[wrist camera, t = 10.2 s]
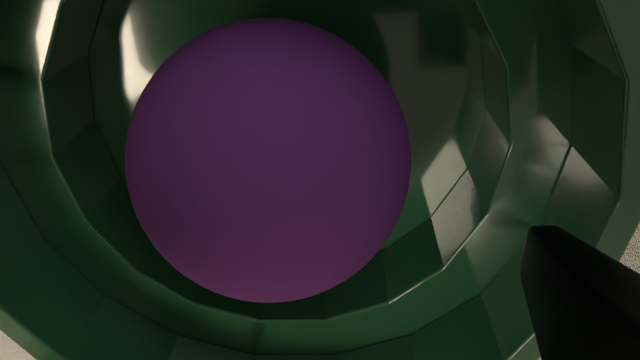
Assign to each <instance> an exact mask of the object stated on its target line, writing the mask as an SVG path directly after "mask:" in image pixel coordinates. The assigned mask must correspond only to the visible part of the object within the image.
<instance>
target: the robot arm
mask: <svg viewBox="0 0 640 360" xmlns="http://www.w3.org/2000/svg"><path fill="white" fill-rule="evenodd" d="M521 282H522V286H523V290H524V294H525V298H526V302H527V305H528V309H529V313H530V317H531V321H532V325H533V329H534V333H535V336H536V340H537V344H538V348H539V352H540V356H541V359H542V360H640V274H639V273H637V272H635V271H634V270H632V269H630V268H628V267H627V266H625V265H623V264H622V263H620V262H618V261H617V260H615V259H613V258H611V257H610V256H608V255H606V254H605V253H603V252H601V251H600V250H598V249H596V248H594V247H593V246H591V245H589V244H588V243H586V242H584V241H583V240H581V239H579V238H577V237H576V236H574V235H572V234H571V233H569V232H567V231H566V230H564V229H562V228H560V227H558V226H554V225H549V226H532V227H531V228H529V230H528V232H527V235H526V241H525V246H524V252H523V257H522V263H521Z"/></svg>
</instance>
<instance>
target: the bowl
mask: <svg viewBox="0 0 640 360" xmlns="http://www.w3.org/2000/svg"><path fill="white" fill-rule="evenodd" d="M256 18H283V19H289V20H295V21H301V22H304V23H307V24H311V25H314V26H317V27H320V28H322V29H324V30H326V31H329V32H331V33H333V34H335V35H337V36H338V37H340V38H341V39H343V40H345V41H346V42H348V43H349V44H351V45H352V46H354V47H355V48H356V49H357V50H359V51H360V52H361V53H362V54H363V55H365V56H366V57H367V58H368V59H369V60H370V61H371V62H372V63H373V64H374V66H375V67H376V68H377V69H378V70H379V71H380V72H381V74H382V75H383V77H384V78H385V79H386V81H387V82H388V84H389V85H390V87H391V89H392V91H393V93H394V95H395V97H396V99H397V101H398V103H399V105H400V107H401V109H402V112H403V115H404V118H405V121H406V124H407V129H408V135H409V140H410V148H411V172H410V180H409V187H408V192H407V196H406V200H405V203H404V207H403V209H402V212H401V214H400V216H399V218H398V221H397V223H396V225H395V227H394V229H393V231H392V233H391V234H390V236H389V237H388V239H387V241H386V242H385V243H384V245H383V246H382V247H381V248H380V250H379V251H378V252H377V253H376V254H375V255H374V257H373V258H372V259H371V260H370V261H369V262H368V263H367V264H366V265H365V266H364V267H363V268H361V269H360V270H359V271H358V272H357V273H355V274H354V275H352V276H351V277H350V278H348V279H347V280H345V281H343V282H342V283H340V284H338V285H336V286H334V287H333V288H331V289H329V290H327V291H324V292H322V293H319V294H317V295H314V296H310V297H307V298H303V299H299V300H293V301H286V302H273V303H263V302H250V301H243V300H238V299H234V298H230V297H227V296H224V295H221V294H218V293H215V292H213V291H211V290H209V289H206V288H204V287H202V286H201V285H199V284H197V283H196V282H194V281H192V280H190V279H189V278H187V277H186V276H184V275H183V274H182V273H180V272H179V271H178V270H176V269H175V268H174V267H173V266H172V265H171V264H170V263H169V262H168V261H167V260H166V259H164V257H163V256H162V255H161V254H160V253H159V252H158V250H157V249H156V248H155V247H154V245H153V244H152V242H151V241H150V239H149V238H148V236H147V235H146V233H145V231H144V230H143V228H142V226H141V224H140V222H139V220H138V218H137V216H136V214H135V211H134V208H133V205H132V202H131V199H130V195H129V191H128V186H127V181H126V175H125V147H126V139H127V132H128V128H129V125H130V121H131V118H132V114H133V111H134V108H135V106H136V104H137V102H138V99H139V97H140V95H141V93H142V91H143V89H144V88H145V86H146V85H147V83H148V82H149V80H150V79H151V77H152V76H153V75H154V73H155V72H156V70H157V69H158V68H159V67H160V66H161V65H162V64H163V63H164V62H165V60H166V59H167V58H168V57H169V56H170V55H172V54H173V53H174V52H175V51H177V50H178V49H179V48H180V47H182V46H183V45H184V44H186V43H187V42H189V41H190V40H192V39H194V38H195V37H197V36H199V35H200V34H202V33H204V32H206V31H208V30H211V29H213V28H215V27H218V26H220V25H223V24H227V23H231V22H235V21H239V20H246V19H256ZM639 222H640V0H0V330H1V331H2V332H4V333H5V334H6V335H7V336H8V337H10V338H11V339H12V340H13V341H15V342H16V343H17V344H18V345H19V346H21V347H22V348H23V349H24V350H26V351H27V352H28V353H29V354H30V355H32V356H33V357H34V358H35V359H37V360H537V359H538V358H539V357H540V352H539V348H538V344H537V340H536V336H535V333H534V329H533V325H532V321H531V317H530V313H529V309H528V305H527V302H526V298H525V294H524V290H523V286H522V282H521V263H522V257H523V252H524V246H525V241H526V235H527V232H528V230H529V228H531V227H532V226H549V225H554V226H558V227H560V228H562V229H564V230H566V231H567V232H569V233H571V234H572V235H574V236H576V237H577V238H579V239H581V240H583V241H584V242H586V243H588V244H589V245H591V246H593V247H594V248H596V249H598V250H600V251H601V252H603V253H605V254H606V255H608V256H610V257H611V258H613V259H615V260H617V261H618V262H619V261H620V259H621V257H622V255H623V253H624V251H625V249H626V247H627V245H628V244H629V242H630V240H631V238H632V236H633V234H634V232H635V230H636V228H637V226H638V224H639Z"/></svg>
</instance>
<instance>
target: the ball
mask: <svg viewBox="0 0 640 360" xmlns="http://www.w3.org/2000/svg"><path fill="white" fill-rule="evenodd" d="M410 172H411V148H410V140H409V135H408V129H407V124H406V121H405V118H404V115H403V112H402V109H401V107H400V105H399V103H398V101H397V99H396V97H395V95H394V93H393V91H392V89H391V87H390V85H389V84H388V82H387V81H386V79H385V78H384V77H383V75H382V74H381V72H380V71H379V70H378V69H377V68H376V67H375V66H374V64H373V63H372V62H371V61H370V60H369V59H368V58H367V57H366V56H365V55H363V54H362V53H361V52H360V51H359V50H357V49H356V48H355V47H354V46H352V45H351V44H349V43H348V42H346V41H345V40H343V39H341V38H340V37H338V36H337V35H335V34H333V33H331V32H329V31H326V30H324V29H322V28H320V27H317V26H314V25H311V24H307V23H304V22H301V21H295V20H289V19H283V18H256V19H246V20H239V21H235V22H231V23H227V24H223V25H220V26H218V27H215V28H213V29H211V30H208V31H206V32H204V33H202V34H200V35H199V36H197V37H195V38H194V39H192V40H190V41H189V42H187V43H186V44H184V45H183V46H182V47H180V48H179V49H178V50H177V51H175V52H174V53H173V54H172V55H170V56H169V57H168V58H167V59H166V60H165V62H164V63H163V64H162V65H161V66H160V67H159V68H158V69H157V70H156V72H155V73H154V75H153V76H152V77H151V79H150V80H149V82H148V83H147V85H146V86H145V88H144V89H143V91H142V93H141V95H140V97H139V99H138V102H137V104H136V106H135V108H134V111H133V114H132V118H131V121H130V125H129V128H128V132H127V139H126V147H125V175H126V181H127V186H128V191H129V195H130V199H131V202H132V205H133V208H134V211H135V214H136V216H137V218H138V220H139V222H140V224H141V226H142V228H143V230H144V231H145V233H146V235H147V236H148V238H149V239H150V241H151V242H152V244H153V245H154V247H155V248H156V249H157V250H158V252H159V253H160V254H161V255H162V256H163V257H164V259H166V260H167V261H168V262H169V263H170V264H171V265H172V266H173V267H174V268H175V269H176V270H178V271H179V272H180V273H182V274H183V275H184V276H186V277H187V278H189V279H190V280H192V281H194V282H196V283H197V284H199V285H201V286H202V287H204V288H206V289H209V290H211V291H213V292H215V293H218V294H221V295H224V296H227V297H230V298H234V299H238V300H243V301H250V302H263V303H273V302H286V301H293V300H299V299H303V298H307V297H310V296H314V295H317V294H319V293H322V292H324V291H327V290H329V289H331V288H333V287H334V286H336V285H338V284H340V283H342V282H343V281H345V280H347V279H348V278H350V277H351V276H352V275H354V274H355V273H357V272H358V271H359V270H360V269H361V268H363V267H364V266H365V265H366V264H367V263H368V262H369V261H370V260H371V259H372V258H373V257H374V255H375V254H376V253H377V252H378V251H379V250H380V248H381V247H382V246H383V245H384V243H385V242H386V241H387V239H388V237H389V236H390V234H391V233H392V231H393V229H394V227H395V225H396V223H397V221H398V218H399V216H400V214H401V212H402V209H403V207H404V203H405V200H406V196H407V192H408V187H409V180H410Z"/></svg>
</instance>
